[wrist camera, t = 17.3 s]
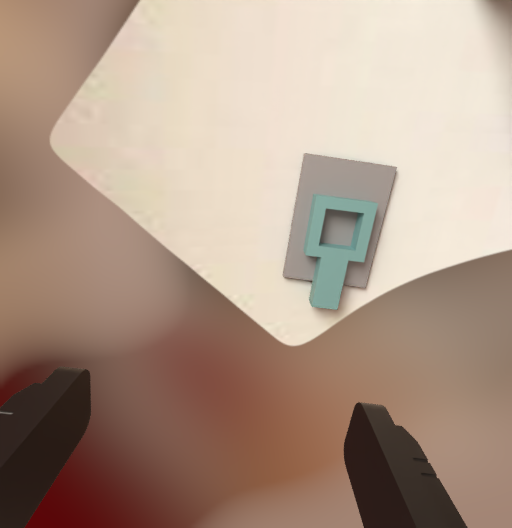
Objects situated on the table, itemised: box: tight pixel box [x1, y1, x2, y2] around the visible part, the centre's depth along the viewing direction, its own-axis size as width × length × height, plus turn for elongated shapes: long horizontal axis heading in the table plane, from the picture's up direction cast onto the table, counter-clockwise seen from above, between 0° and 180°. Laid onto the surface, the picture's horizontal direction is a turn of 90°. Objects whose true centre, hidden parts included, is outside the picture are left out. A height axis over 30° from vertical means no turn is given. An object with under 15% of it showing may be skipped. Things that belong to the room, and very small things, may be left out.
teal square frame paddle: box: [303, 194, 378, 310], centre depth 36 cm, size 12×6×2 cm, turn 173°
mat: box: [283, 153, 397, 288], centre depth 36 cm, size 14×10×1 cm
